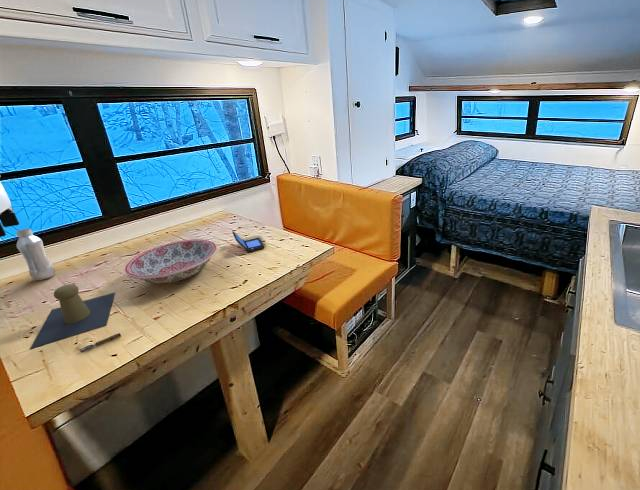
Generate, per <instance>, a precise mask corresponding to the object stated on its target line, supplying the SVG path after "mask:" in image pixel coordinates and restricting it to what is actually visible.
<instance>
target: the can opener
mask: <svg viewBox="0 0 640 490" xmlns="http://www.w3.org/2000/svg"><path fill="white" fill-rule="evenodd" d="M120 337H122V335H121V333H120V332H118V333H116V334H112V335H110V336H108V337H106V338H104V339H101V340H99V341H96V342H95V343H94V344H88V345H86V346H84V347H81V348H80V349H78V350H77V351H78V352H79V351H80V352H81V353H84V352H85V351H86V350H90V349H92V348H93V347H98V346H101V345H103V344H105V343H108V342H112V341H114V340H116V339H118V338H120Z"/></svg>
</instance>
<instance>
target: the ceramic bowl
mask: <svg viewBox="0 0 640 490" xmlns="http://www.w3.org/2000/svg"><path fill="white" fill-rule="evenodd" d="M217 249H218V245H217V244H216V243H215V242H213V241H211V240H208V239H199V238H198V239H197V238H196V239H195V238H194V239H185V240H184V239H183V240H178V241H173V242H168V243H165V244H162V245H158V246H156V247H153V248H150V249H148V250H146V251H143V252H141V253H139V254H138V255H136V256H134V257H133V258H132V259H130V260H129V261H128V262H127V263H126V264H125V267H124V273H125V274H126V275H127V276H128V277H130V278H133V279H139V280H141V281H143V282H147V283H149V284H150V283H151V284H169V283H175V282H179V281H182V280H185V279H188V278H190V277H192V276H194V275H196V274H197V273H199V272H200V271H201V270H202V269H204V268H205V266H206V265H207V264H209V261H210V260H211V258H212V257H213V256H214V255H215V254H216V252H217Z"/></svg>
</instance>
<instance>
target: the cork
mask: <svg viewBox="0 0 640 490" xmlns="http://www.w3.org/2000/svg"><path fill="white" fill-rule="evenodd" d="M79 292H80V291H79V287H78V286H77V285H76V284H75V283H68V284H64V285H61V286H59V287H58V288H56V289H55V290H54V291H53V297H54V298H55V299H56V300H58V303H59V305H60V307H61V311H62V315H63V319H64V323H66V324H70V323H75V322H78V321H80V320H83V319H84V318H86V317H87V316H89V315H90V310H89V309H88V308H87V306H86V305H85V303H84V302H83V301H84V300H83V299H82V297H81V296H80V295H79Z"/></svg>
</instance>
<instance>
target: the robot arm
mask: <svg viewBox="0 0 640 490" xmlns="http://www.w3.org/2000/svg"><path fill="white" fill-rule="evenodd" d="M0 178H1V175H0ZM18 219H19V218H18V217H17V215H16V213H15V210H14V208H12V202H11V200H10V197H9V195H8V193H7V191H6V190H5V188H4V186H3V184H2V182H1V181H0V238H2V237H5V236H7V233H6V231H5V229H4V228H9V227H15V226H16V227H17V226H19V225H20V221H19V220H18Z"/></svg>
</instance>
